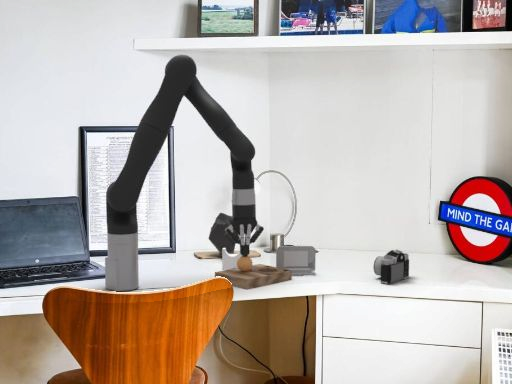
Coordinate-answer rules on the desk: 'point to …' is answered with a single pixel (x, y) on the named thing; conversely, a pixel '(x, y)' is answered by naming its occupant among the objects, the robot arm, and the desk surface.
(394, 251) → the camera
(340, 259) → the desk surface
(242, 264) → the ball
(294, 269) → the toaster
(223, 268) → the bracket
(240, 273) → the brown wooden flat block
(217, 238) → the dark grey rock
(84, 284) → the desk surface
